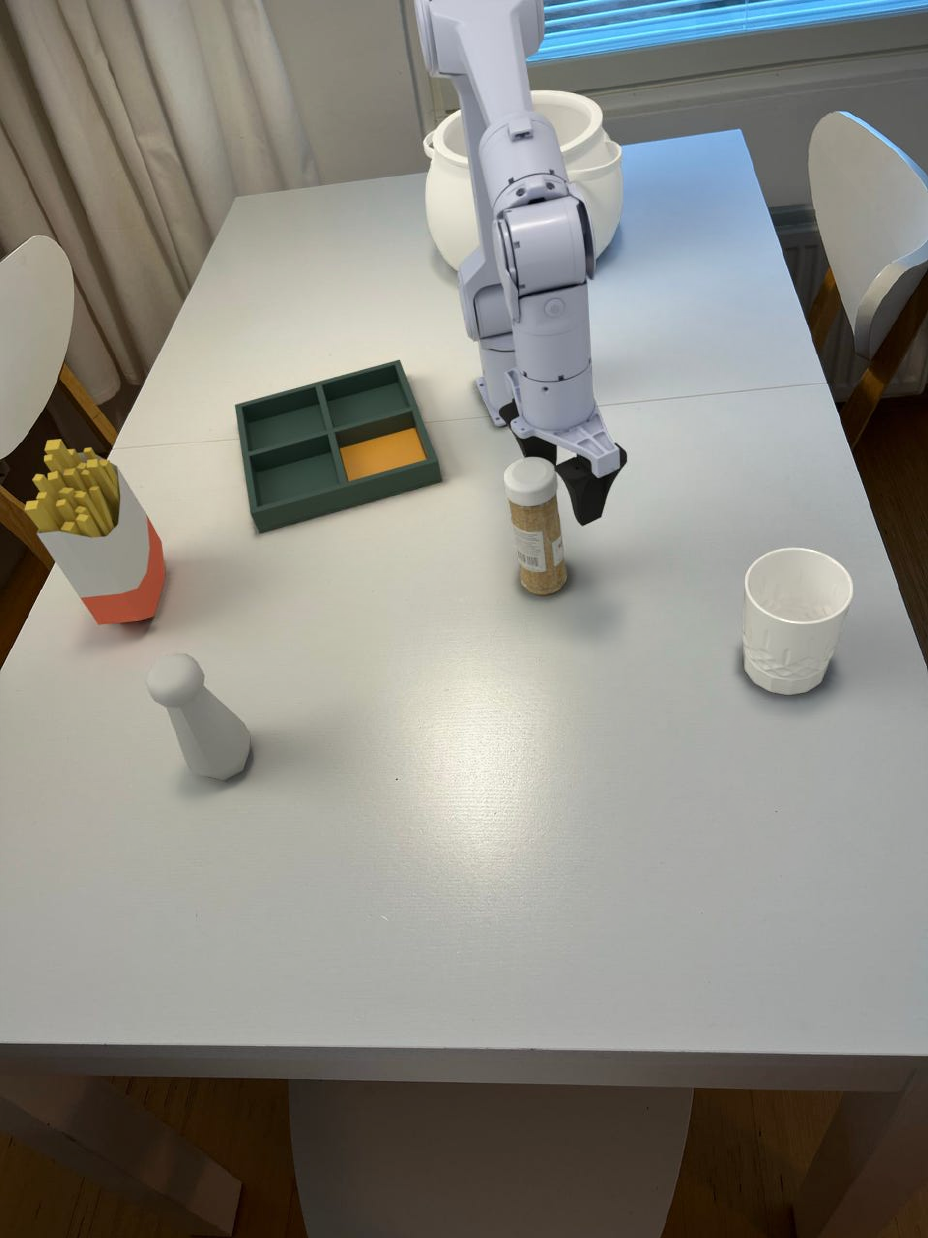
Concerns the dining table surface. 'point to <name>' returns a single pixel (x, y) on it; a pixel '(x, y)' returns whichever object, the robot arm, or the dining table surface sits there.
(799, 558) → the white cup
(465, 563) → the dining table surface
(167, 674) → the salt shaker
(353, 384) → the tray
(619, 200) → the pot
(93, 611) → the french fries container
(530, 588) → the sprinkles bottle
